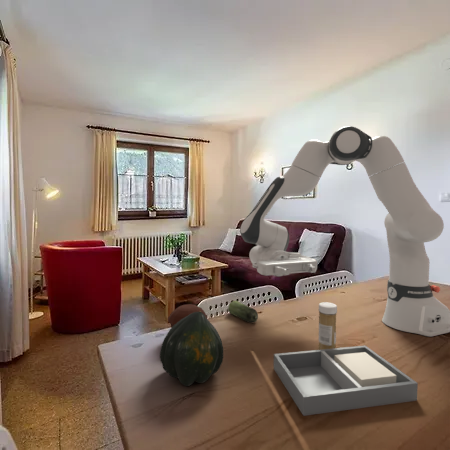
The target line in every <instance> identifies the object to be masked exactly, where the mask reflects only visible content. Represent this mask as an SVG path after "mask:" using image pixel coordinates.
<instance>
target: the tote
mask: <svg viewBox="0 0 450 450" xmlns="http://www.w3.org/2000/svg"><path fill="white" fill-rule="evenodd" d="M361 352H366V353H367V354H368V355H370V356H371V357H372V358H374V359H375V360H376V361H378V362H379V363H380V364H382V365H383V366H384V367H386V368H387V369H388V370H390V371H391V372H392V373H394V374H395V375H396V383H392V384H384V385H376V386H367V387H361V386H360V385H359V384H358V383H357V382H356V381H355V380H354V379H353V378H352V377H351V376H350V375H349V374H348V373H347V372H346V371H345V370H344V369H342V368H341V367H340V366H339V365H338V364H337V363H336V362H335V361H334V355H340V354H351V353H361ZM273 370H274V372H275V373H276V375H277V376H278V378H279V379H280V381H281V383H282V385H284V387H285V390H287V392H288V394H289V396H290V397H291V398H292V400H293V402H294V403H295V405H296V407H297V408H298V410H299V411H300V413H301V414H302V416H304V417H305V416H311V415H312V416H313V415H319V414H327V413H333V412H334V413H335V412H341V411H347V410H348V411H349V410H356V409H363V408H371V407H379V406H386V405H394V404H401V403H402V404H403V403H408V402H415V401H418V386H419V385H418V382H417V381H416V380H414V379H412V377H410V376H408V375H407V374H406V373H405V372H403V371H401V370H400V369H399V368H397V367H396V366H395V365H394V364H392V363H391V362H389V361H387V360H386V359H385V358H384V357H382V356H380V355H379V354H377V353H376V352H375V351H374V350H372V348H370V347H368V346H367V345H357V346H345V347H336V348H333V349H322V350H319V349H314V350H313V349H312V350H304V351H303V350H302V351H292V352H282V353H273Z"/></svg>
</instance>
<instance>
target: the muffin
mask: <svg viewBox="0 0 450 450" xmlns="http://www.w3.org/2000/svg"><path fill="white" fill-rule="evenodd" d="M199 311H201V312H202V313H203V314H204V315H205V317H206V318H207V319H208V315H207V314H206V312H205V310H204V309H203V308H202V307H200V306H198V305H196V304H183V305H180V306H178V307H177V308H175V309H174V310H172V312H171V313H170V314H169V316H168V318H167V322H168V323H169V324H170V329H171V328H172V327H173V326H174V325H175V324H176V323H177V322H179V321H180V320H181V319H183V318H185V317H186V316H188V315H190V314H191V313H194V312H199Z"/></svg>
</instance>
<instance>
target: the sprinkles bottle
mask: <svg viewBox="0 0 450 450" xmlns="http://www.w3.org/2000/svg"><path fill="white" fill-rule="evenodd" d="M318 313H319V314H318V315H319V316H318V317H319V318H318V350H322V349H333V348H337V347H336V344H337V331H336V330H337V313H338V305H337V304H335V303H333V302H327V301H324V302H320V303H318Z"/></svg>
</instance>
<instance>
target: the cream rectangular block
mask: <svg viewBox="0 0 450 450" xmlns="http://www.w3.org/2000/svg"><path fill="white" fill-rule="evenodd" d="M334 361H335V362H336V363H337V364H338V365H339V366H340V367H341V368H342V369H344V370H345V371H346V372H347V373H348V374H349V375H350V376H351V377H352V378H353V379H354V380H355V381H356V382H357V383H358V384H359V385H360V386H361V387H367V386H376V385H384V384H392V383H396V375H395V374H394V373H392V372H391V371H390V370H388V369H387V368H386V367H384V366H383V365H382V364H380V363H379V362H378V361H376V360H375V359H374V358H372V357H371V356H370V355H368V354H367V353H366V352H361V353H351V354H340V355H334Z"/></svg>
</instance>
